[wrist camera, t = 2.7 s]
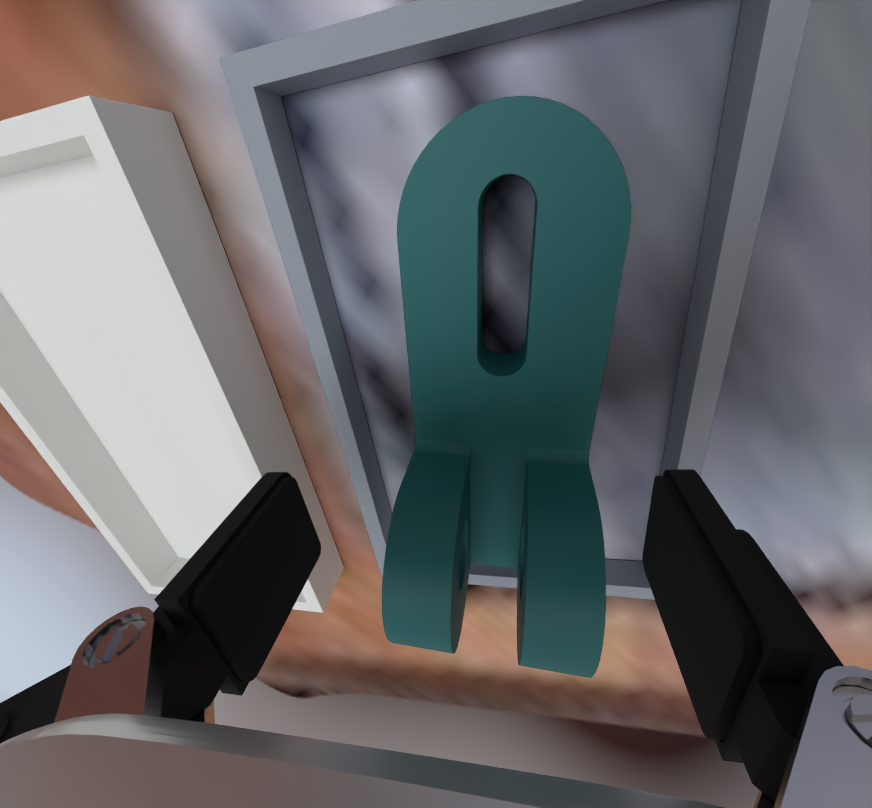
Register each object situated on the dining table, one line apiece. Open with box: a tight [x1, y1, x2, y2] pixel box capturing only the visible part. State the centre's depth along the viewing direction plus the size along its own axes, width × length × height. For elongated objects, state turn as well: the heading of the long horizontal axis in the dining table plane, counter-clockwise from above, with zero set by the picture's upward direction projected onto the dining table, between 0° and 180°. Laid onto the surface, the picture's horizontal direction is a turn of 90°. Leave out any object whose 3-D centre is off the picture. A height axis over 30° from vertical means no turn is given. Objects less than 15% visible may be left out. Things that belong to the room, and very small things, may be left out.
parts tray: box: [0, 96, 344, 613], centre depth 19 cm, size 13×24×3 cm, turn 8°
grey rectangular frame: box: [219, 0, 812, 600], centre depth 15 cm, size 15×23×2 cm, turn 8°
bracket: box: [382, 96, 631, 678], centre depth 13 cm, size 18×7×8 cm, turn 3°
